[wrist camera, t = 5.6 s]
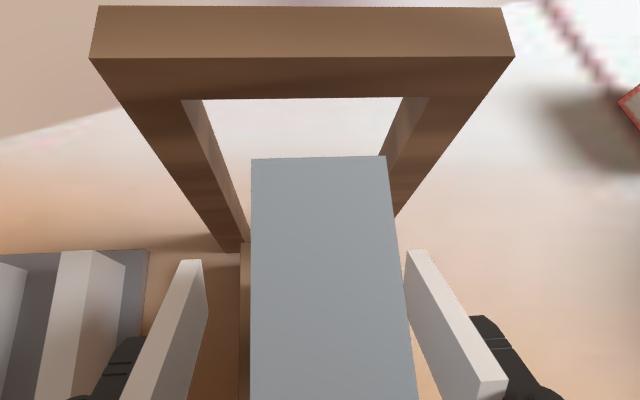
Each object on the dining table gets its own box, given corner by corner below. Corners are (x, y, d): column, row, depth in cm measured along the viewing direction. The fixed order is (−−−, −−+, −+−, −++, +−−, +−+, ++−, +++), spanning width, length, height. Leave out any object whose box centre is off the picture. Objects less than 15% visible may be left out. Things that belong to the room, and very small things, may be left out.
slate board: (331, 441, 21) (470, 783, 4) (285, 445, 21) (247, 818, 4) (322, 292, 24) (385, 155, 7) (282, 294, 24) (251, 158, 7)
